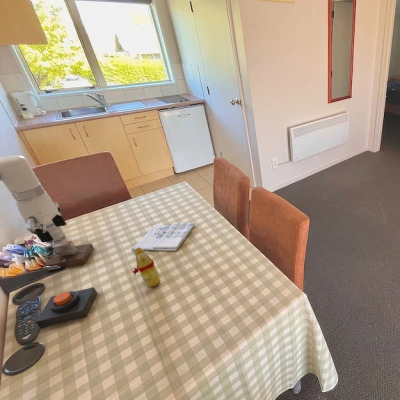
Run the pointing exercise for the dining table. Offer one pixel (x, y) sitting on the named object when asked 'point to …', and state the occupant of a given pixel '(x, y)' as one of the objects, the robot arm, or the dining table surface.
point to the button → (62, 298)
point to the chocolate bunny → (146, 268)
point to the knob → (65, 249)
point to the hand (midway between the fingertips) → (55, 233)
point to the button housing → (67, 308)
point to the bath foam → (55, 233)
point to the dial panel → (72, 257)
